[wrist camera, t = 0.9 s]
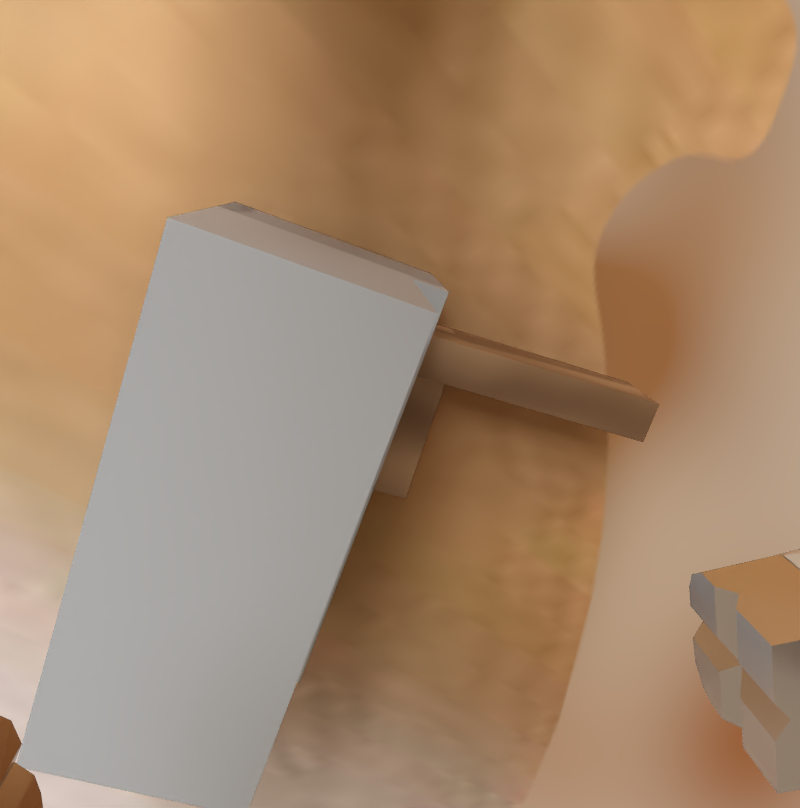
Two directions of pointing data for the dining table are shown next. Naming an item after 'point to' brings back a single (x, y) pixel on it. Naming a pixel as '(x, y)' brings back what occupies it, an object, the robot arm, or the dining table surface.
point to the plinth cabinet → (225, 502)
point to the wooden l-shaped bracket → (507, 396)
